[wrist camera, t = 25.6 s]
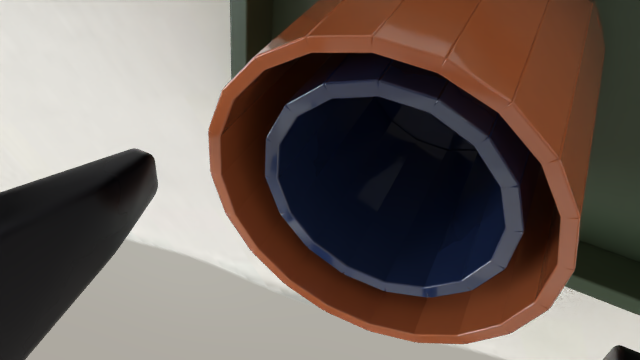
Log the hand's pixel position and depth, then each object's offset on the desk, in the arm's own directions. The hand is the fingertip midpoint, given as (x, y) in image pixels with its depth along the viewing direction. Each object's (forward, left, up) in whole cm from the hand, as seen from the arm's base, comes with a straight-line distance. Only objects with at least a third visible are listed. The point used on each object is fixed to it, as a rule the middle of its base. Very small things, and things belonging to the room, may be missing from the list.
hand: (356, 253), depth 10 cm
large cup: (0, 0, -8) cm, 8 cm away
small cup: (0, 0, -8) cm, 8 cm away
